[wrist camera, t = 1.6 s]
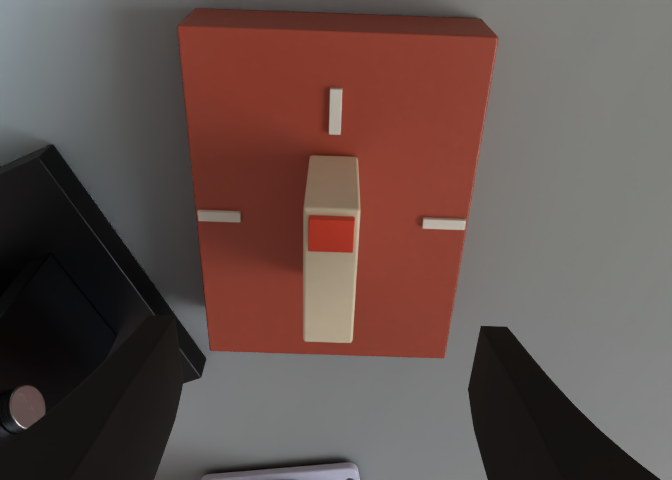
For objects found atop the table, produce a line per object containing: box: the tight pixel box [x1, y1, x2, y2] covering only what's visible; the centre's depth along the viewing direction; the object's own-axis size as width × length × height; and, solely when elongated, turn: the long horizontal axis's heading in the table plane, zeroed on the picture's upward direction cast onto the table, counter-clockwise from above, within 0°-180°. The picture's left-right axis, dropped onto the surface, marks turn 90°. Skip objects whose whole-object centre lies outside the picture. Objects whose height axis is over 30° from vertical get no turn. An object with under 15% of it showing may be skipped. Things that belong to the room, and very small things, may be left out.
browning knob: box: [303, 155, 361, 343], centre depth 18 cm, size 5×2×4 cm, turn 178°
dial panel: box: [177, 8, 498, 358], centre depth 21 cm, size 12×9×3 cm
